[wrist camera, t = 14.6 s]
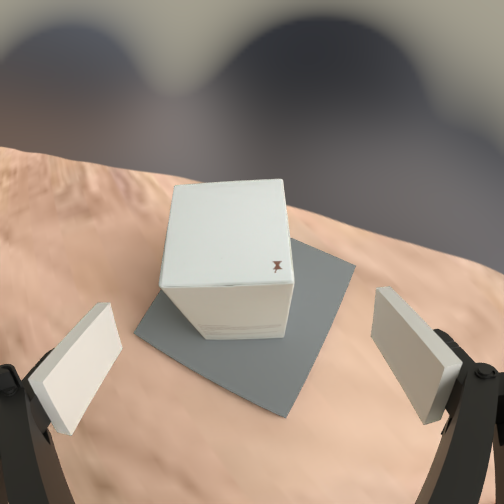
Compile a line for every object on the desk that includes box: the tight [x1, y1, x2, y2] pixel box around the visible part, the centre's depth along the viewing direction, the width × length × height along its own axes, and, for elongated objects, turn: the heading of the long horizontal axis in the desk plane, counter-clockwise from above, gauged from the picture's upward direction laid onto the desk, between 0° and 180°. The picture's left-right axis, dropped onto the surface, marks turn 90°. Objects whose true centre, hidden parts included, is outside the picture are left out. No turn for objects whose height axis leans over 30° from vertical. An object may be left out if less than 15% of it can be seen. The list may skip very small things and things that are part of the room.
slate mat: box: [134, 238, 356, 418], centre depth 29 cm, size 16×16×1 cm
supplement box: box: [159, 179, 295, 340], centre depth 23 cm, size 7×7×13 cm
